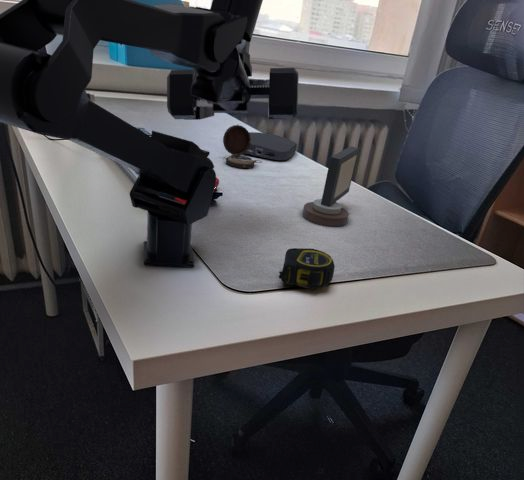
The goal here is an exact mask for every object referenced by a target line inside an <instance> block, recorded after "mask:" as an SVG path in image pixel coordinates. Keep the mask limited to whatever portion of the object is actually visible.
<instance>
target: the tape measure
mask: <svg viewBox="0 0 524 480" xmlns="http://www.w3.org/2000/svg"><path fill="white" fill-rule="evenodd" d="M335 267H336V265H335V262H334V259H333V257H332V256H331V255H330V254H328V253H326V252H325V251H322V250H320V249H316V248H307V247H306V248H301V247H300V248H299V247H298V248H297V247H292V248H288V249H287V250H286V251H285V255H284V262H283V266H282V270H281V271H280V270H279V272H278V274H279V275H278V278H279V279H281V282H282V284H284V285H285V286H286V285H288V286H294V285H295V286H298V287H300V288H304V289H310V290H311V289H322V288H324V287H326V286H328V285H329V284H330V283H331V282H332V280H333V277H334V273H335V269H336V268H335Z"/></svg>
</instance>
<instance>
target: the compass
mask: <svg viewBox="0 0 524 480" xmlns="http://www.w3.org/2000/svg"><path fill="white" fill-rule="evenodd" d="M249 132H250V131H249V130H248V129H247V128H246V127H244V126H242V125H240V124H234V125H231V126H229V127H228V128H226V130H225V131H224V133H223V134H224V135H223V136H222V137H223V138H222V143H223V146H224V149H225V151H227V152H228V153H229V154H231V155H229V156H228V157H226V159H225V163H226V164H227V165H229V166H230V167H234V168H238V169H251V168H253V167H254V166H255V163H256V164H262V163H263V161H262V160H259V159H252V158H251V157H250V156H247V155H244V154H245V152H246V151H247V150H248V148H249V146H250V140H251V138H250V134H249Z"/></svg>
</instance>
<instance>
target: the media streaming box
mask: <svg viewBox="0 0 524 480" xmlns="http://www.w3.org/2000/svg"><path fill="white" fill-rule="evenodd" d="M248 132H249V134H250V138H251V140H250V146H249V148H248V150H247V151H246V152H245V153H244V154H246V155H250V156H253V157H260V158H264V159H268V160H274V161H286V160H289V159H290V158H292V157H293V156H294V155H295V154H296V152H297V146H298V143H297V142H295V141H293V140H291V139H289V138H286V137H283V136H280V135H277V134H272V133H267V132H256V131H255V132H254V131H253V132H251V131H248Z"/></svg>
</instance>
